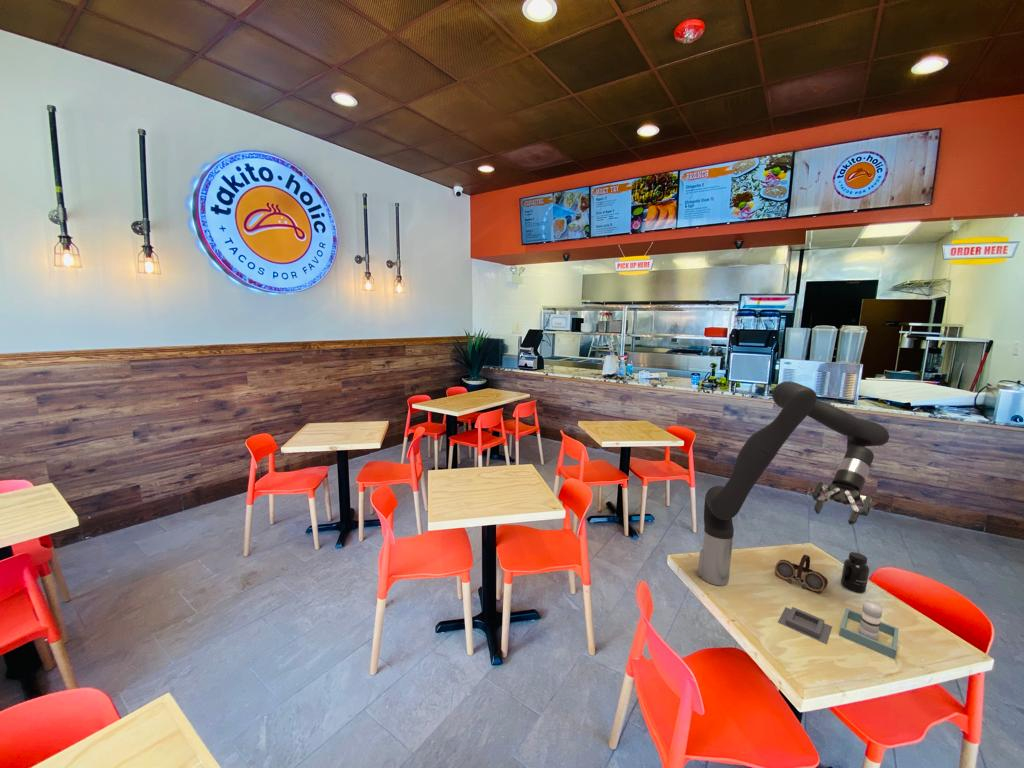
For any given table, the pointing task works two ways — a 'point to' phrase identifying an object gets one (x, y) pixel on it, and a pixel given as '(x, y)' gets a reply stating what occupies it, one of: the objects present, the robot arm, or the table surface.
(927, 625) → the table surface
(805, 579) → the goggles
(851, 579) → the supplement bottle
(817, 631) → the grey recessed base plate
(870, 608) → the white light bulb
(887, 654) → the parts tray
